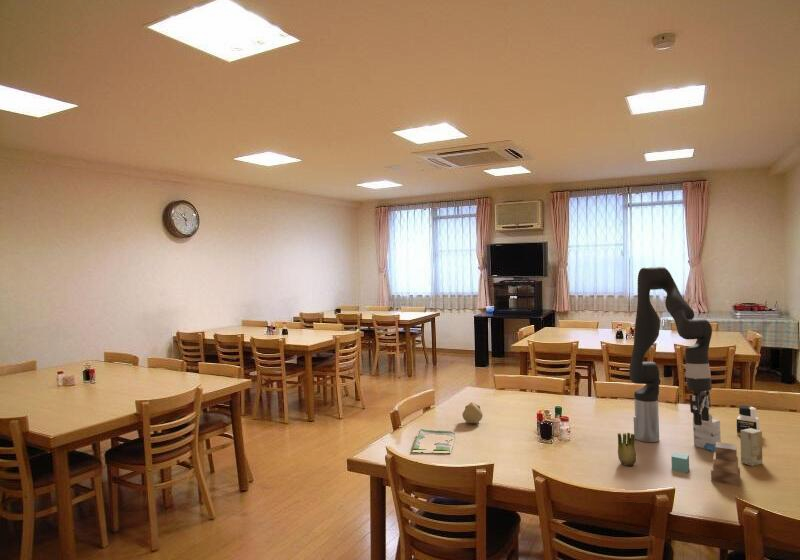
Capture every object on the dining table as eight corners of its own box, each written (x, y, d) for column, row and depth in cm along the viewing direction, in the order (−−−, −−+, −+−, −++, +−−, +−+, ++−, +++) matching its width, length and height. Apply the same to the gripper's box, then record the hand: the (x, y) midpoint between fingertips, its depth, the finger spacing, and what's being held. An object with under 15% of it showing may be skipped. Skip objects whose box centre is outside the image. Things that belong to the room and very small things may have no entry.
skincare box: (752, 466, 183) (751, 433, 183) (740, 462, 187) (739, 430, 187) (763, 463, 185) (762, 430, 185) (751, 459, 189) (750, 427, 189)
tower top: (715, 458, 172) (715, 447, 172) (716, 452, 177) (715, 441, 177) (736, 461, 169) (736, 450, 169) (736, 455, 174) (736, 444, 174)
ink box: (721, 449, 200) (720, 413, 200) (713, 452, 198) (712, 414, 198) (701, 443, 208) (700, 408, 208) (693, 445, 206) (692, 409, 206)
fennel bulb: (617, 464, 190) (616, 433, 189) (622, 460, 193) (621, 429, 193) (633, 468, 185) (632, 436, 185) (638, 464, 189) (637, 432, 189)
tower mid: (713, 470, 172) (713, 458, 172) (714, 463, 178) (714, 452, 178) (737, 474, 168) (737, 462, 168) (738, 467, 174) (738, 455, 174)
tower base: (711, 481, 172) (711, 470, 172) (713, 473, 179) (712, 462, 179) (739, 487, 168) (739, 475, 168) (740, 478, 174) (739, 467, 174)
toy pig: (483, 420, 251) (482, 398, 251) (482, 427, 239) (481, 405, 239) (463, 419, 253) (463, 398, 253) (461, 427, 241) (461, 405, 241)
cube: (671, 470, 183) (671, 456, 183) (673, 465, 187) (673, 452, 187) (687, 473, 180) (687, 459, 180) (689, 468, 184) (688, 454, 184)
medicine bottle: (736, 434, 216) (736, 407, 216) (739, 430, 221) (739, 403, 221) (756, 438, 211) (756, 410, 211) (759, 433, 216) (758, 406, 216)
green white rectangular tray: (455, 436, 229) (455, 429, 229) (452, 455, 206) (451, 447, 206) (418, 435, 232) (418, 428, 232) (410, 454, 209) (410, 445, 209)
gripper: (692, 373, 184) (696, 418, 183) (679, 377, 174) (683, 425, 173) (716, 374, 179) (720, 420, 177) (704, 379, 169) (708, 428, 168)
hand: (702, 422), depth 175 cm, fingers open, 8 cm apart
